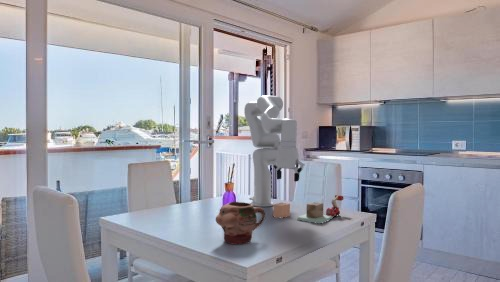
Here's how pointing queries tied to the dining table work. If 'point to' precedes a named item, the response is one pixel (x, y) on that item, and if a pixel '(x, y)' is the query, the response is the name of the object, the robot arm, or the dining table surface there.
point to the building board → (317, 220)
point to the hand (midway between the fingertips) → (287, 180)
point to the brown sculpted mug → (239, 221)
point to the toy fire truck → (334, 207)
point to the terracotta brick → (281, 210)
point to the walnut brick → (314, 210)
